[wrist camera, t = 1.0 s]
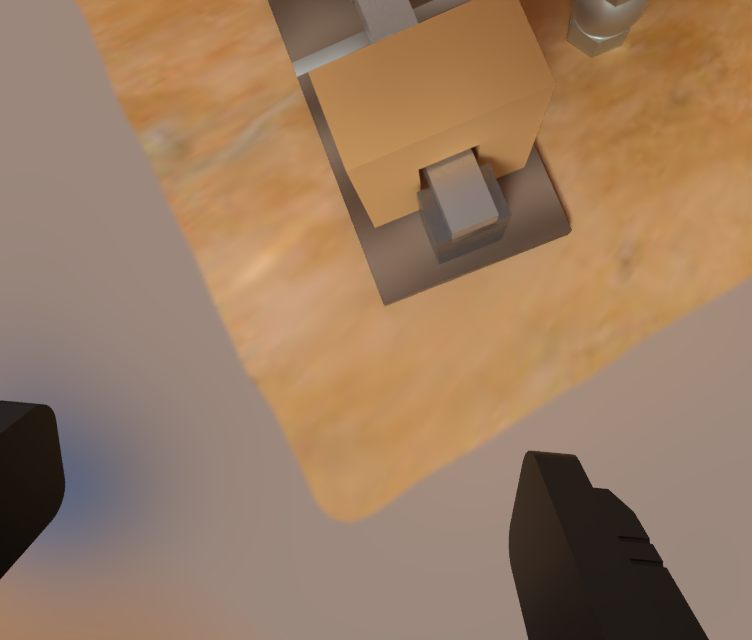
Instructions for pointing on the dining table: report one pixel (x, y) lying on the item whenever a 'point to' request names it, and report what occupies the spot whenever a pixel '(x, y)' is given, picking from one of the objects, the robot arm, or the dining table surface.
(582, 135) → the dining table surface
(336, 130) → the collar
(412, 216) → the board
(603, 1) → the valve
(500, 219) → the rectangular bar
